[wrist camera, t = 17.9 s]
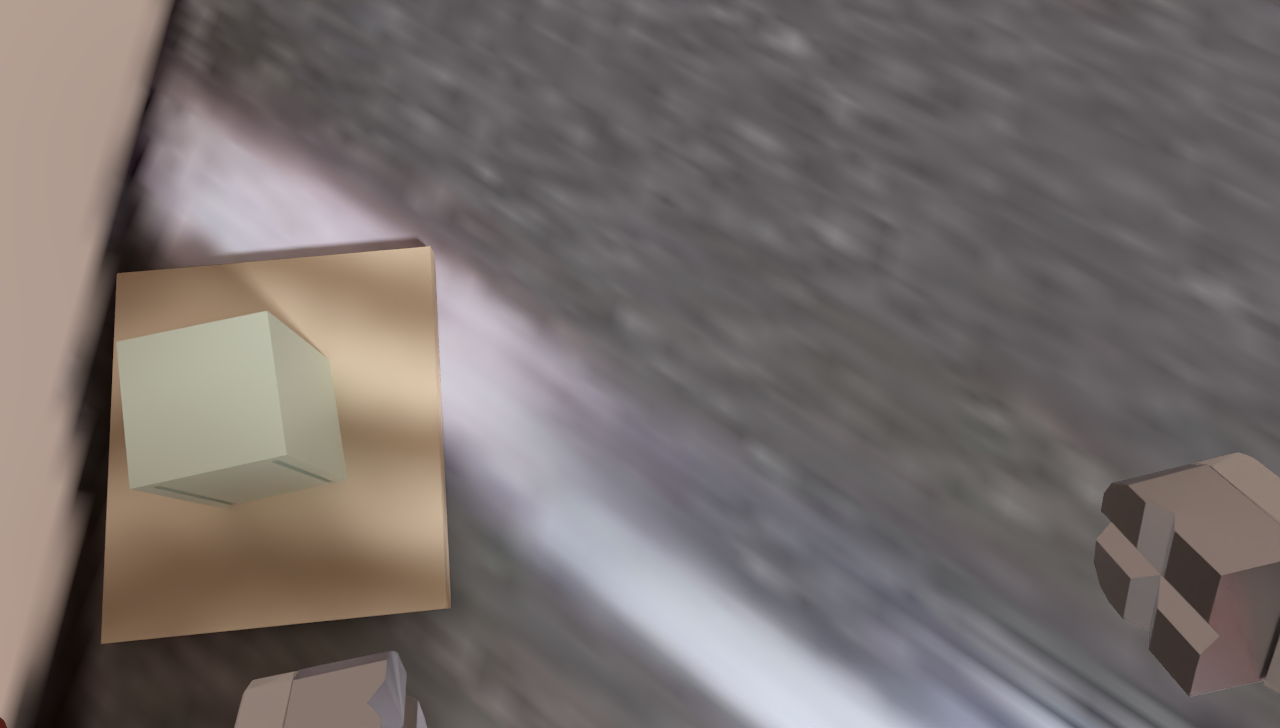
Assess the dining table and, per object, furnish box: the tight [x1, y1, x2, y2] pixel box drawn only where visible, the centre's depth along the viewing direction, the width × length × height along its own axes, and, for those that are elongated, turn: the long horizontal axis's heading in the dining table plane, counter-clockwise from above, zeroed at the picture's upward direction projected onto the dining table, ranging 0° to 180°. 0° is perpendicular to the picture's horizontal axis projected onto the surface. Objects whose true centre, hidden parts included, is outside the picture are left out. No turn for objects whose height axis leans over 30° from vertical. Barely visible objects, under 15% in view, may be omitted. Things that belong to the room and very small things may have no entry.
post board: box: [101, 246, 451, 644], centre depth 37 cm, size 16×14×6 cm
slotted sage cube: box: [116, 311, 348, 508], centre depth 36 cm, size 5×5×7 cm
